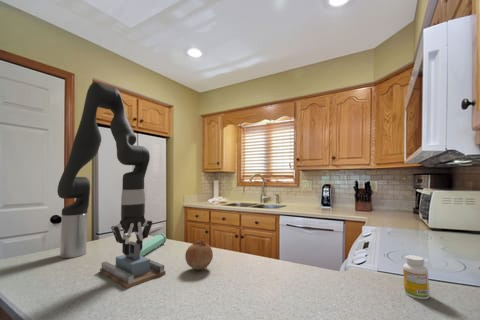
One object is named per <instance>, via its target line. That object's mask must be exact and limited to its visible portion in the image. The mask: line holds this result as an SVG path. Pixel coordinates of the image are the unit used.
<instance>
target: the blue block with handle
mask: <svg viewBox="0 0 480 320" xmlns="http://www.w3.org/2000/svg"><path fill="white" fill-rule="evenodd" d="M128 244H129V255H124V254H122V255H118V256H115V265H116V267H118V268H120V269H122V270H124V271H126V272H128V273H130V274H132V275H134V277H135V276H138V275H141V274H144V273H147V272H150V260H151V259H150V258H147V257H145V256H140V244H139V243H136V241H133V240H132V241H131V240H129V242H128Z"/></svg>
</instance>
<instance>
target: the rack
mask: <svg viewBox="0 0 480 320" xmlns="http://www.w3.org/2000/svg"><path fill="white" fill-rule="evenodd" d="M99 272H100V273H101V274H103V275H104V276H106V277H107V278H109V279H111V280H113V281H114V282H116V283H118V284H119V285H121V286H123V287H124V288H126V289H129V288H131V287H134V286H136V285H139V284H142V283H145V282H147V281H151V280H153V279H155V278H160V277H162V276H165V275H167V274H166V270H165V265H164V264H162V263H159V262H157V261H154V260H151V259H150V272H147V273H144V274H141V275H138V276H135V277H134V275H132V274H130V273H128V272H126V271H124V270H122V269H120V268H118V267H116V264H112V263H111V262H108V261H103V262H101V268H100V269H99Z"/></svg>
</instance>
